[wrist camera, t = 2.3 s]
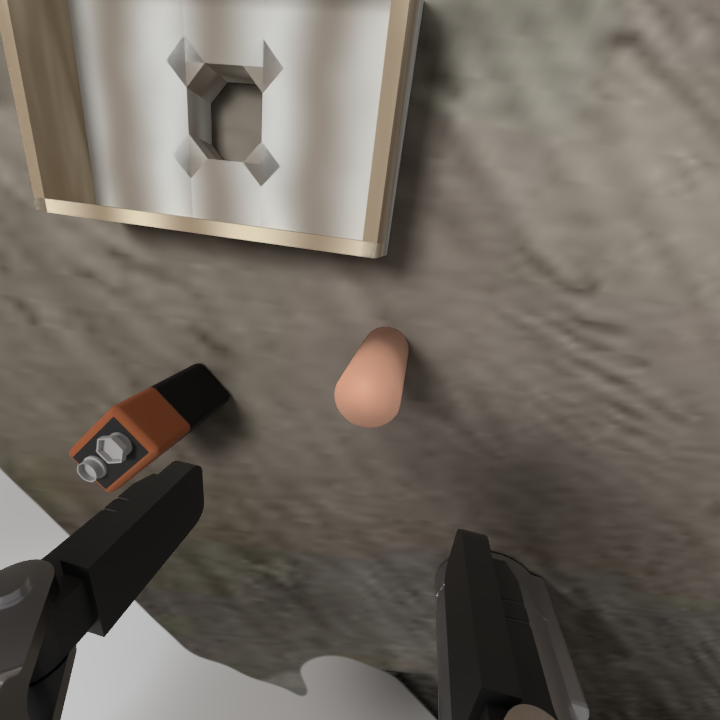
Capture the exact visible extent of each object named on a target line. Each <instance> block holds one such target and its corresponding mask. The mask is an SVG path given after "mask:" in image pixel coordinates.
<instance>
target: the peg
mask: <svg viewBox="0 0 720 720" xmlns="http://www.w3.org/2000/svg"><path fill="white" fill-rule="evenodd" d="M408 353H409V346H408V342H407V340H406V338H405V336H404V335H403V334H402V333H401V332H399V331H398V330H396V329H394V328H391V327H380V328H377V329H375V330H373V331H372V332H370V333H369V334H368V336H367V337H366V339H365V340H364V342H363V343H362V345H361V346H360V348H359V350H358V351H357V353H356V354H355V356H354V357H353V359H352V360H351V362H350V364H349V365H348V367H347V368H346V370H345V371H344V373H343V374H342V376H341V378H340V379H339V381H338V383H337V385H336V388H335V402H336V405H337V408H338V409H339V411H340V413H341V414H342V415H343V416H344V417H345V418H346V419H347V420H348V421H350V422H351V423H353V424H355V425H358V426H361V427H366V428H375V427H380V426H383V425H385V424H387V423H388V422H390V421H391V420H392V419H393V418H394V417H395V416H396V414H397V413H398V410H399V408H400V403H401V397H402V391H403V385H404V378H405V372H406V366H407V359H408Z"/></svg>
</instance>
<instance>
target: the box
mask: <svg viewBox="0 0 720 720" xmlns="http://www.w3.org/2000/svg"><path fill="white" fill-rule="evenodd" d="M423 4H424V0H0V30H1V35H2V40H3V45H4V50H5V55H6V60H7V65H8V70H9V75H10V80H11V85H12V90H13V95H14V100H15V105H16V110H17V115H18V120H19V125H20V130H21V135H22V140H23V145H24V150H25V155H26V160H27V165H28V170H29V175H30V180H31V185H32V190H33V195H34V200H35V205H36V210H37V211H43V212H50V213H57V214H64V215H71V216H78V217H85V218H92V219H99V220H106V221H113V222H120V223H127V224H134V225H142V226H149V227H156V228H163V229H170V230H177V231H184V232H191V233H198V234H205V235H212V236H219V237H226V238H233V239H241V240H248V241H255V242H262V243H269V244H276V245H283V246H290V247H297V248H304V249H311V250H318V251H325V252H332V253H340V254H347V255H354V256H361V257H368V258H379V257H382V256H386V255H387V250H388V243H389V237H390V230H391V223H392V216H393V209H394V202H395V195H396V189H397V182H398V175H399V168H400V161H401V154H402V148H403V141H404V134H405V127H406V120H407V113H408V106H409V100H410V93H411V86H412V79H413V72H414V65H415V59H416V52H417V45H418V38H419V31H420V24H421V18H422V11H423ZM228 82H232V83H246V84H256V85H257V86H258V88H259V89H260V91H261V92H262V93H263V97H262V141H261V143H260V144H259V145H258V146H257V147H256V148H255V149H254V150H253V151H252V153H251V154H250V155H249V156H248V157H247V158H246V159H245V160H244V162H234V161H225V160H223V159H222V157H221V156H220V155H219V153H218V152H217V151H216V149H215V148H214V147H213V145H212V122H211V103H212V102H213V100H214V99H215V98H216V97H217V95H218V94H219V93H220V91H221V90H222V89H223V88H224V86H225V85H226V84H227V83H228Z"/></svg>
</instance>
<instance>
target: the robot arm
mask: <svg viewBox="0 0 720 720" xmlns="http://www.w3.org/2000/svg"><path fill="white" fill-rule="evenodd" d="M203 507H204V494H203V477H202V469H201V467H200V466H197V465H193V464H189V463H185V462H181V461H174V462H172V463H171V464H170V465H168V466H167V467H166V468H165V469H164V470H163V471H162V472H160V473H159V474H158V475H157V474H152V475H150V476H148V477H146V478H144V479H142V480H140V481H138V482H136V483H134V484H133V485H131V486H130V487H129V488H128V489H127V490H125V491H124V492H123V493H122V494H121V495H119V496H118V499H114V500H113V501H112V502H111V503H110V504H108V505H107V506H106V507H105V509H104V510H103V511H102V510H101V511H100V512H99V513H98V514H96V515H95V516H94V517H93V518H91V519H90V520H89V521H88V522H87V523H85V524H84V525H83V526H82V527H81V528H79V529H78V530H77V531H76V532H75V533H73V534H72V535H71V536H70V537H69V538H67V539H66V540H65V541H64V542H62V543H61V544H60V545H59V546H58V547H57V548H55V549H54V550H53V551H51V552H50V553H49V554H48V555H46V556H45V557H44V558H43V559H41V560H28V561H23V562H20V563H17V564H14V565H11V566H9V567H6V568H4V569H2V570H0V720H60V719H61V714H62V710H63V706H64V701H65V697H66V693H67V689H68V684H69V680H70V676H71V672H72V667H73V663H74V659H75V655H76V644H77V643H78V642H79V641H80V639H81V638H82V637H83V636H84V635H85V634H86V632H87V631H88V632H91V633H94V634H97V635H100V636H103V637H104V636H105V635H106V634H107V633H108V632H109V630H110V629H111V628H112V627H113V625H114V624H115V623H116V622H117V620H118V619H119V618H120V617H121V616H122V614H123V613H124V612H125V611H126V610H127V608H128V607H129V606H130V605H131V603H132V602H133V601H134V600H135V598H136V597H137V596H138V595H139V594H140V592H141V591H142V590H143V589H144V587H145V586H146V585H147V584H148V583H149V581H150V580H151V579H152V578H153V576H154V575H155V574H156V573H157V571H158V570H159V569H160V568H161V567H162V565H163V564H164V563H165V562H166V560H167V559H168V558H169V557H170V556H171V554H172V553H173V552H174V551H175V549H176V548H177V547H178V546H179V544H180V543H181V542H182V541H183V540H184V538H185V537H186V536H187V535H188V533H189V532H190V531H191V530H192V529H193V527H194V526H195V525H196V523H197V522H198V520H199V518H200V516H201V514H202V511H203ZM435 608H436V636H437V669H438V703H439V720H588V718H589V708H588V705H587V702H586V699H585V696H584V694H583V691H582V688H581V685H580V682H579V679H578V677H577V674H576V671H575V668H574V665H573V662H572V660H571V657H570V654H569V651H568V648H567V645H566V642H565V640H564V637H563V634H562V631H561V628H560V625H559V623H558V620H557V617H556V614H555V611H554V608H553V606H552V603H551V600H550V597H549V594H548V591H547V588H546V586H545V583H544V580H543V578H541V577H537V576H534V575H531V574H530V573H529V572H528V571H527V570H526V569H525V568H524V567H523V566H522V565H520V564H519V563H517V562H516V561H514V560H513V559H510V558H508V557H506V556H503V555H500V554H496V553H492V552H491V550H490V545H489V541H488V538H487V536H486V535H484V534H479V533H475V532H471V531H467V530H463V529H458V531H457V533H456V536H455V540H454V543H453V546H452V550H451V553H450V556H449V560H448V561H446V562H445V563H444V564H443V565H442V566H441V567H440V568H439V570H438V572H437V574H436V580H435Z"/></svg>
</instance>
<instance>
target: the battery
mask: <svg viewBox="0 0 720 720" xmlns="http://www.w3.org/2000/svg"><path fill="white" fill-rule="evenodd" d="M228 399H229V395H228V394H227V392H226V391H225V390H224V389H223V388H222V387H221V386H220V385H219V384H218V383H217V381H216V380H215V379H214V378H213V377H212V376H211V375H210V374H209V373H208V372H207V370H206V369H205V368H204V367H203V366H202V365H201V364H194V365H192V366H190V367H188V368H186V369H184V370H182V371H180V372H178V373H177V374H175V375H173V376H171V377H169V378H167V379H165V380H163V381H161V382H159V383H157V384H155V385H153V386H151V387H149V388H147V389H146V390H144V391H142V392H140V393H138V394H136V395H134V396H132V397H130V398H128V399H126V400H124V401H122V402H120V403H118V404H116V405H115V406H113V407H112V408H110V409H109V410H108V411H107V412H106V413H105V414H104V415H103V416H102V417H101V418H100V420H99V421H98V422H97V423H96V424H95V425H94V426H93V427H92V428H91V429H90V430H89V431H88V432H87V433H86V434H85V435H84V436H83V437H82V438H81V439H80V440H79V441H78V442H77V443H76V444H75V445H74V446H73V447H72V448H71V450H70V452H69V455H70V456H71V457H72V458H73V459H74V460H75V461H76V462H77V463H78V464H79V465H78V466H77V472H78V474H79V475H80V477H81V478H83V479H84V480H86V481H88V482H93V481H96V482H97V483H98V484H99V485H101V486H102V487H103V488H104V489H105V490H106V491H107V492H113V491H116V490H117V489H119V488H120V487H121V486H123V485H124V484H125V483H126V482H128V481H129V480H130V479H131V478H133V477H134V476H135V475H136V474H138V473H139V472H140V471H141V470H143V469H144V468H145V467H147V466H148V465H149V464H150V463H152V462H153V461H154V460H155V459H157V458H158V457H159V456H160V455H162V454H163V453H164V452H165V451H167V450H168V449H169V448H170V447H172V446H173V445H174V444H175V443H177V442H178V441H179V440H181V439H182V438H183V437H184V436H186V435H187V434H188V433H189V432H191V431H192V430H193V429H194V428H195V427H197V426H198V425H199V424H200V423H201V422H203V421H204V420H205V419H206V418H207V417H209V416H210V415H211V414H212V413H214V412H215V411H216V410H217V409H218V408H220V407H221V406H222V405H223V404H224V403H225V402H227V400H228Z"/></svg>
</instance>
